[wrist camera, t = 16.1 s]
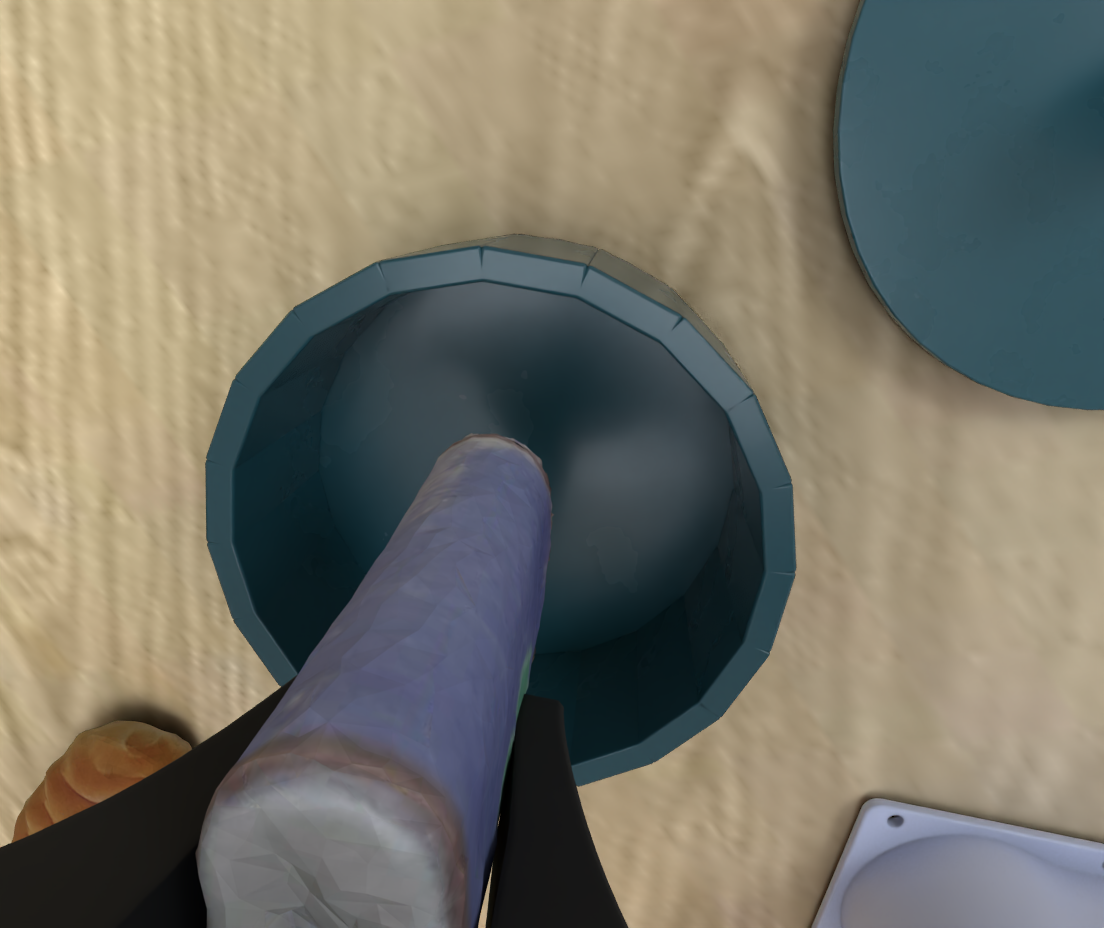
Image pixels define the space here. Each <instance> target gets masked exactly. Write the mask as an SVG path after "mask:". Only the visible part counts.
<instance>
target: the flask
mask: <svg viewBox="0 0 1104 928" xmlns="http://www.w3.org/2000/svg"><path fill="white" fill-rule="evenodd" d="M515 443H516V444H515ZM517 444H518V445H517ZM520 446H521V447H520ZM522 447H523V448H522ZM549 484H550V482H549V479H548V476H547V473H545V471H544V470H543V467H542V460H541V459H540V458H539V457H538V456H536V455H535V454H534V453H533V452H532V451H531V450H530V449H529V448H528V447H527V446H526V445H525V444H521V443H520V442H518V441H517V440H515V439H514V438H507V437H506V438H505V437H503V436H501V435H499V434H472V433H471V434H469V435H467V436H465V437H464V438H463V439H462V440H460V441H458V442H456V443H453V444H452V445H451V446H450V447H449V448H448V449H447V450H446V451H444V452H443V453H442V454H441V456H439V457H438V459H437V461H436V463H435V465H434V467H433V469H432V471H431V473H430V474H429V476H428V477H427V479H426V481H425V482H424V484H423V485H422V487H421V488H420V490H419V492H418V494H417V496H416V498H415V500H414V501H413V503H412V504H411V506H410V507H409V509H408V510H407V512H406V513H405V515H404V517H403V518H402V520H401V522H400V523H399V525H398V527H397V528H396V530H395V532H394V534H393V535H392V537H391V539H390V540H389V542H388V544H387V546H386V547H385V549H384V550H383V552H382V553H381V554H380V555H379V557H378V558H377V559H376V560H375V562H374V564H373V565H372V567H371V568H370V570H369V571H368V573H367V574H366V576H365V578H364V579H363V581H362V582H361V584H360V585H359V587H358V589H357V590H356V592H355V594H354V595H353V597H352V599H351V600H350V601H349V603H348V604H347V605H346V607H345V608H344V609H343V610H342V612H341V613H340V614H339V616H338V617H337V618H336V619H335V621H334V622H333V623H332V625H331V626H330V628H329V629H328V631H327V633H326V634H325V636H324V637H323V638H322V640H321V641H320V642H319V644H318V645H317V646H316V648H315V649H314V650H313V652H312V653H311V654H310V656H309V657H308V659H307V661H306V663H305V664H304V666H303V667H302V669H301V671H300V672H299V674H298V675H297V677H296V678H295V680H294V681H293V683H292V684H291V686H290V687H289V689H288V690H287V692H286V693H285V695H284V696H283V698H282V699H281V701H280V702H279V704H278V705H277V707H276V708H275V710H274V711H273V712H272V714H271V715H270V717H269V718H268V719H267V721H266V722H265V723H264V725H263V726H262V727H261V729H260V730H259V732H258V733H257V735H256V736H255V737H254V739H253V740H252V742H251V743H250V744H249V746H248V747H247V749H246V750H245V752H244V753H243V754H242V756H241V757H240V759H239V760H238V761H237V763H236V764H235V765H234V766H233V767H232V768H231V770H230V771H229V772H228V773H227V775H226V776H225V778H224V779H223V780H222V782H221V783H220V784H219V786H218V787H217V789H216V790H215V793H214V795H213V797H212V800H211V802H210V804H209V807H208V809H207V812H206V815H205V819H204V822H203V825H202V830H201V835H200V840H199V845H198V848H197V850H196V860H197V868H198V875H199V880H200V884H201V888H202V891H203V895H204V899H205V903H206V907H207V928H478V924H479V918H480V913H481V909H482V905H483V901H484V897H485V893H486V889H487V885H488V881H489V877H490V872H491V868H492V863H493V859H494V854H495V850H496V845H497V834H498V821H499V817H500V813H501V809H502V805H503V801H504V796H505V791H506V787H507V781H508V776H509V770H510V764H511V758H512V752H513V747H514V741H515V730H516V723H517V718H518V714H519V710H520V706H521V702H522V699H523V696H524V694H526V691H527V689H528V684H529V677H530V670H531V663H532V662H533V659H534V657H535V656H534V654H535V653H536V648H535V644H536V639H537V635H538V631H539V627H540V619H541V613H542V608H543V603H544V597H545V585H546V571H547V566H548V561H550V557H549V555H550V551H551V539H550V536H551V529H552V516H553V515H554V514H553V513H552V512H551V510H552V502H551V487H550V485H549Z"/></svg>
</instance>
